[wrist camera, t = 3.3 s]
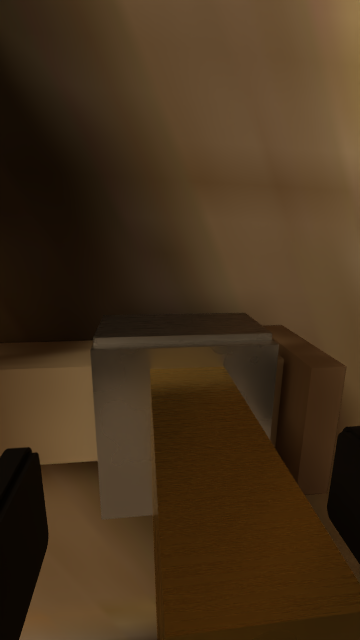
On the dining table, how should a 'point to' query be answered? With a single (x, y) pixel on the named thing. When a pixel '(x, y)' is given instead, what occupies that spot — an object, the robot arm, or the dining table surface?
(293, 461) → the rail
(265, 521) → the carriage
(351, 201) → the dining table surface
